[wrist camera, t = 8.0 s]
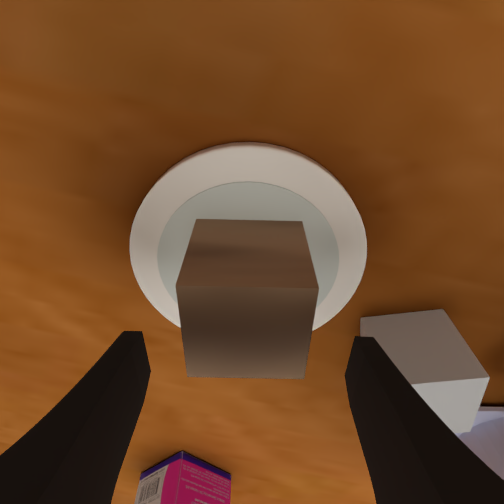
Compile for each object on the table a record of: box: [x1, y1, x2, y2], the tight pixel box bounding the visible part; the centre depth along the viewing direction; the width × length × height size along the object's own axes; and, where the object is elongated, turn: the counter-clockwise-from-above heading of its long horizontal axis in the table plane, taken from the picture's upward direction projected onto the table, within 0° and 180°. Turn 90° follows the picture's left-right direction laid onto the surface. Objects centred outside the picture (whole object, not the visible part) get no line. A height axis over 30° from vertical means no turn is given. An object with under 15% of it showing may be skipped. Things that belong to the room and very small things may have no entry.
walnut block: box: [175, 219, 319, 379], centre depth 14 cm, size 4×4×4 cm
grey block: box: [360, 309, 490, 433], centre depth 18 cm, size 4×4×4 cm
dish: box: [130, 142, 367, 331], centre depth 16 cm, size 11×11×1 cm
